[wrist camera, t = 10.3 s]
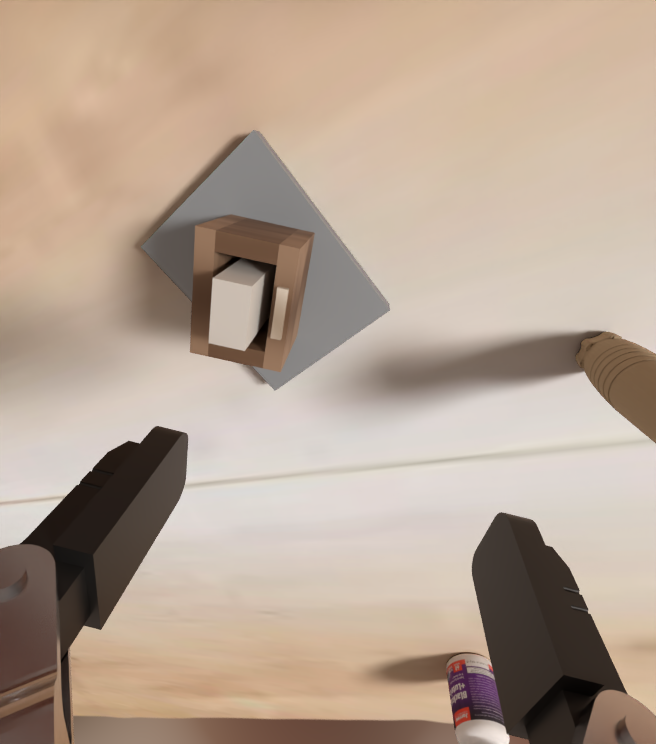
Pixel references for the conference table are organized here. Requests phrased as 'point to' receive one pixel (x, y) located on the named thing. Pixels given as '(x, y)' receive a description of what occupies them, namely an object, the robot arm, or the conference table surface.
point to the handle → (623, 377)
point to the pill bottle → (475, 701)
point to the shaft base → (284, 207)
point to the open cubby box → (292, 256)
